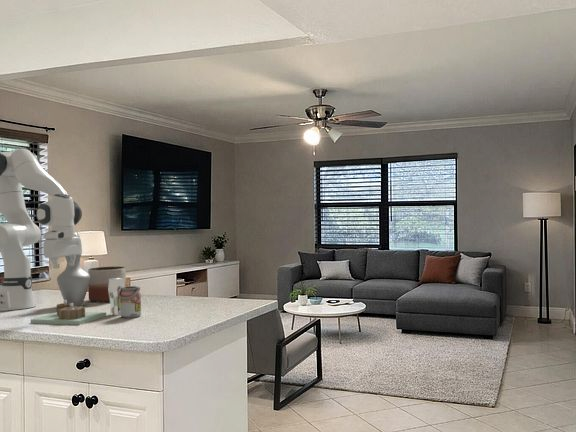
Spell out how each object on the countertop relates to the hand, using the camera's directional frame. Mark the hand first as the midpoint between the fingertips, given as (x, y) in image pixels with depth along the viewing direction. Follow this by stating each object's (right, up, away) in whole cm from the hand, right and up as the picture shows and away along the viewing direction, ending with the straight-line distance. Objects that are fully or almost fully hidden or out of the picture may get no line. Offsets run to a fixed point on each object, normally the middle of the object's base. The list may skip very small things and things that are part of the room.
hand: (64, 267), depth 232 cm
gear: (0, -19, 0) cm, 19 cm away
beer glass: (+20, -20, +6) cm, 29 cm away
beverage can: (+28, -20, -1) cm, 34 cm away
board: (+4, -21, -4) cm, 21 cm away
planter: (+3, -21, +46) cm, 51 cm away
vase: (-7, -21, +31) cm, 38 cm away
